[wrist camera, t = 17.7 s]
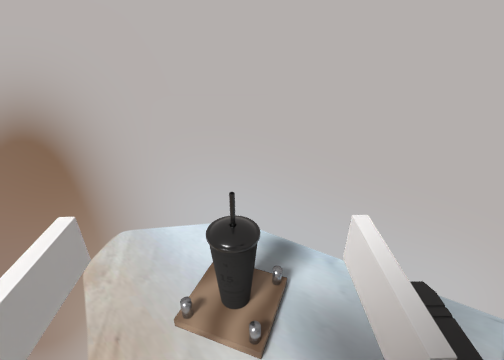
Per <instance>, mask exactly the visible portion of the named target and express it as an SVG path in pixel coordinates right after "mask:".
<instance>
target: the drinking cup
mask: <svg viewBox="0 0 504 360" xmlns="http://www.w3.org/2000/svg"><path fill="white" fill-rule="evenodd" d="M229 197H230V216H226V217H222V218H219V219H217V220H215V221H214V222H212V223H211V224H210V225H209V227H208V228H207V231H206V239H207V242H208V243H209V245H210V249H211V254H212V259H213V264H214V268H215V273H216V278H217V283H218V287H219V292H220V297H221V301H222V303H223V305H224V306H226V307H227V308H229V309H240V308H243V307H244V306H246V305H247V304H248V302H249V300H250V295H251V287H252V280H253V272H254V265H255V257H256V249H257V242H258V241H259V238H260V229H259V227H258V225H257V224H256V223H255V222H254V221H253V220H251V219H249V218H246V217H243V216H235V194H234V192H230V193H229Z"/></svg>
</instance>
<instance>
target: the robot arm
mask: <svg viewBox="0 0 504 360" xmlns="http://www.w3.org/2000/svg"><path fill="white" fill-rule="evenodd" d="M343 259H344V262H345V264H346V266H347V269H348V271H349V274H350V276H351V279H352V281H353V284H354V286H355V288H356V291H357V293H358V296H359V298H360V301H361V303H362V306H363V308H364V311H365V313H366V315H367V318H368V320H369V323H370V325H371V328H372V330H373V333H374V335H375V337H376V340H377V342H378V345H379V347H380V350H381V352H382V355H383V357H384V360H483V359H482V358H481V356H480V355H479V353H478V352H477V350H476V349H475V348H474V346H473V345H472V343H471V342H470V340H469V339H468V337H467V336H466V335H465V333H464V332H463V330H462V329H461V327H460V326H459V325H458V323H457V322H456V320H455V319H453V318H452V315H451V313H450V312H449V310H448V309H447V308H445V305H444V303H443V302H442V300H441V299H440V297H439V296H438V295H437V293H436V292H435V291H434V290H432V289H431V288H430V287H429V286H428V285H427V284H425V283H424V282H410V281H409V280H408V278H407V276H406V275H405V273H404V272H403V270H402V268H401V267H400V265H399V264H398V262H397V260H396V259H395V257H394V256H393V254H392V253H391V251H390V249H389V248H388V246H387V244H386V243H385V241H384V240H383V238H382V237H381V235H380V233H379V232H378V230H377V229H376V227H375V225H374V224H373V222H372V221H371V219H370V217H369V216H368V215H352V218H351V223H350V227H349V232H348V237H347V241H346V246H345V251H344V256H343ZM90 261H91V259H90V257H89V254H88V251H87V248H86V246H85V243H84V240H83V237H82V235H81V232H80V229H79V226H78V224H77V221H76V218H75V217H58V218H57V220H56V221H54V223H53V224H52V225H51V226H50V227H49V228H48V229H47V230H46V231H45V232H44V233H43V234H42V235H41V236H40V237H39V238H38V240H36V241H35V243H33V245H32V246H31V247H30V248H29V249H28V250H27V251H26V252H25V253H24V254H23V255H22V256H21V257H20V258H19V259H18V260H17V261H16V262H15V263H14V264H13V265H12V267H11V268H10V269H9V270H8V271H7V272H6V273H5V274H4V275H3V276H2V277H1V278H0V360H27V358H28V356H29V355H30V353H31V352H32V350H33V349H34V347H35V345H36V344H37V343H38V341H39V339H40V338H41V336H42V335H43V333H44V332H45V330H46V329H47V327H48V326H49V324H50V323H51V321H52V319H53V318H54V316H55V315H56V313H57V312H58V310H59V309H60V307H61V306H62V304H63V302H64V301H65V299H66V298H67V296H68V295H69V293H70V292H71V290H72V289H73V287H74V286H75V284H76V282H77V281H78V279H79V278H80V276H81V275H82V273H83V272H84V270H85V269H86V267H87V265H88V264H89V262H90Z"/></svg>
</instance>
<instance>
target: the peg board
mask: <svg viewBox="0 0 504 360" xmlns="http://www.w3.org/2000/svg"><path fill="white" fill-rule="evenodd" d="M286 284H287V278H286V277H282V268H281V267H280V266H274V267H273V272H272V273H269V272H265V271H262V270H258V269H255V268H254V272H253V280H252V287H251V295H250V300H249V302H248V304H247V305H246V306H244V307H243V308H240V309H229V308H227V307H226V306H224V305H223V303H222V301H221V297H220V292H219V287H218V283H217V278H216V273H215V268H214V264H213V263H212V264H211V265H210V267H209V268H208V270H207V271H206V273H205V274H204V276H203V277H202V279H201V280H200V282H199V283H198V285H197V286H196V288H195V289H194V291H193V292H192V293H191V295H190V296H189V297H184V298H182V299H181V301H180V304H181V310H180V311H179V313H178V314H177V316H176V317H175V319H174V323H175V326H177V327H180V328H182V329H185V330H187V331H190V332H193V333H195V334H198V335H200V336H203V337H205V338H208V339H211V340H213V341H216V342H218V343H221V344H223V345H226V346H228V347H231V348H234V349H236V350H239V351H241V352H244V353H246V354H249V355H251V356H254V357H257V358H259V359H261V358H262V355H263V352H264V349H265V346H266V343H267V340H268V337H269V334H270V331H271V328H272V325H273V322H274V319H275V316H276V313H277V311H278V308H279V305H280V302H281V299H282V296H283V293H284V290H285V287H286Z"/></svg>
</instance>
